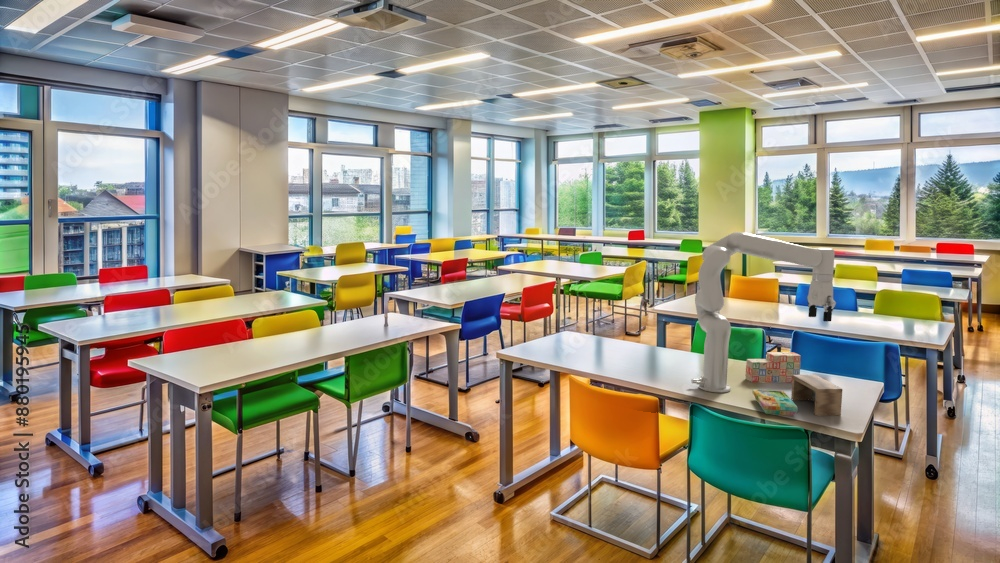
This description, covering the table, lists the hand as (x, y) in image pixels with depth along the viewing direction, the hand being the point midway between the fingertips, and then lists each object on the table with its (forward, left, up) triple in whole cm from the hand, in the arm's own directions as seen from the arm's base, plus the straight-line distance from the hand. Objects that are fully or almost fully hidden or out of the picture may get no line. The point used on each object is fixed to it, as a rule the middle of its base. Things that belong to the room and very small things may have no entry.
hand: (819, 319), depth 250 cm
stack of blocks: (-12, +13, -30) cm, 35 cm away
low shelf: (-12, -22, -30) cm, 39 cm away
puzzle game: (-28, -22, -31) cm, 47 cm away
